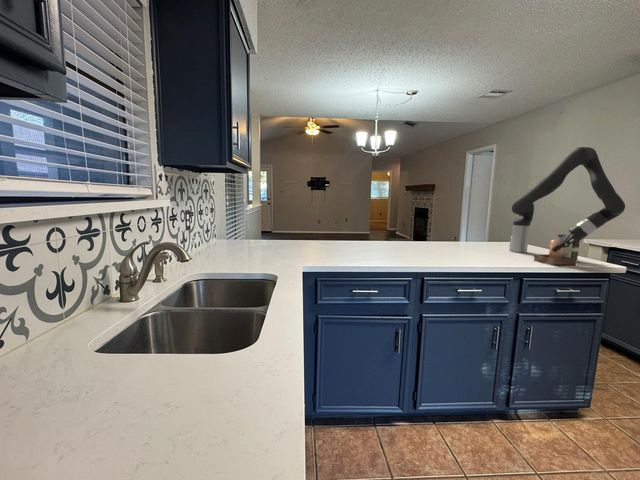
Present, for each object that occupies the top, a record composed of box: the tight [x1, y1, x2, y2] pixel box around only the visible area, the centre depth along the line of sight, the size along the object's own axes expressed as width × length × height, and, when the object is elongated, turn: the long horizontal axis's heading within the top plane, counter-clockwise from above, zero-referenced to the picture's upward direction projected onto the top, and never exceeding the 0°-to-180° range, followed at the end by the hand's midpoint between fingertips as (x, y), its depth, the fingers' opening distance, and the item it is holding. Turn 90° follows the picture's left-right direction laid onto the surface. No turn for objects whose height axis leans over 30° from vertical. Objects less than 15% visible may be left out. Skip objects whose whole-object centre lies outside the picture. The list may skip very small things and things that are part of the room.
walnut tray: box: [533, 253, 578, 267], centre depth 172 cm, size 13×13×4 cm
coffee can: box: [557, 234, 581, 262], centre depth 181 cm, size 10×10×14 cm
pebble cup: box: [548, 239, 563, 259], centre depth 171 cm, size 6×6×10 cm
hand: (552, 249), depth 172 cm, fingers closed on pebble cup, 5 cm apart
